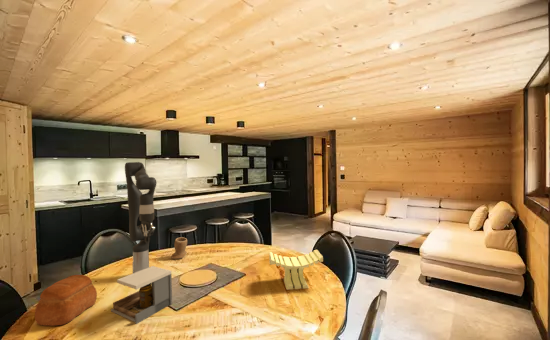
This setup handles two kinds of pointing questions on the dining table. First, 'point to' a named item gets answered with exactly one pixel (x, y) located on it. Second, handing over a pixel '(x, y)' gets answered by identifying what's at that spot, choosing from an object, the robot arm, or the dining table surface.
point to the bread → (65, 300)
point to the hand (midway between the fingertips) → (147, 242)
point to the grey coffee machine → (160, 290)
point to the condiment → (145, 298)
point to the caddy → (127, 304)
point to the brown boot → (179, 248)
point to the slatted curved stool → (295, 267)
